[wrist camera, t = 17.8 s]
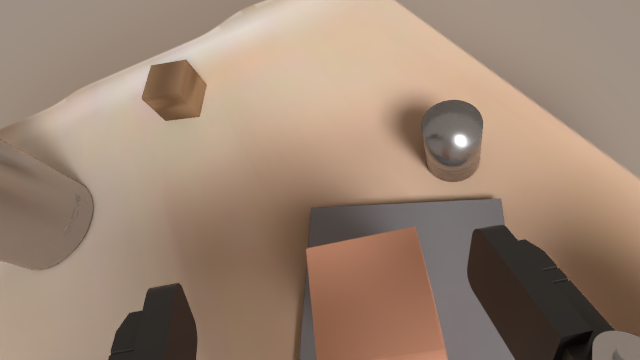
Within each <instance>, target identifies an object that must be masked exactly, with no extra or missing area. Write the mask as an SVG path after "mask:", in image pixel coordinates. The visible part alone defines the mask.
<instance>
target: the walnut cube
mask: <svg viewBox="0 0 640 360" xmlns="http://www.w3.org/2000/svg"><path fill="white" fill-rule="evenodd" d="M205 90H206V83H205V82H204V81H203V80H202V78H201V77H200V76H199V75H198V74H197V72H196V71H195V70H194V69H193V68H192V66H191V65H190V64H189V63H188V61H187V60H181V61H176V62H170V63H164V64H158V65H152V66H151V68H150V71H149V75H148V78H147V82H146V85H145V89H144V92H143V95H142V99H143V100H144V101H145V102H146V103H147V104H148V105H149V106H150V107H151V108H152V109H154V110H155V111H156V112H157V113H158V114H159V115H160V116H161V117H162V118H163V119H164V120H165V121H168V120H176V119H184V118H192V117H200V113H201V108H202V104H203V99H204V95H205Z"/></svg>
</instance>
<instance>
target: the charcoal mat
mask: <svg viewBox="0 0 640 360" xmlns="http://www.w3.org/2000/svg"><path fill="white" fill-rule="evenodd" d="M495 225H504V217H503V210H502V202H501V199H481V200H461V201H441V202H420V203H400V204H380V205H360V206H340V207H319V208H311V217H310V230H309V242H308V248H311V247H316V246H321V245H326V244H331V243H336V242H341V241H346V240H351V239H356V238H361V237H365V236H370V235H375V234H380V233H385V232H390V231H395V230H400V229H405V228H410V227H415V226H416V230H417V234H418V238H419V241H420V245H421V249H422V253H423V257H424V261H425V264H426V268H427V272H428V276H429V280H430V284H431V288H432V292H433V296H434V301H435V305H436V309H437V313H438V318H439V322H440V326H441V331H442V335H443V339H444V344H445V348H446V352H447V357H448V360H515V359H514V357H513V355H512V354H511V352H510V351H509V349H508V347H507V346H506V344H505V342H504V341H503V339H502V338H501V336H500V334H499V333H498V331H497V329H496V328H495V326H494V325H493V323H492V321H491V320H490V318H489V316H488V315H487V313H486V312H485V310H484V308H483V307H482V305H481V303H480V302H479V300H478V299H477V297H476V295H475V294H474V292H473V290H472V288H471V286H470V284H469V280H468V276H467V265H468V258H469V251H470V245H471V238H472V233H473V231H474V230H475V229H478V228H484V227H490V226H495ZM504 226H505V225H504ZM299 360H317V358H316V348H315V337H314V327H313V317H312V306H311V296H310V286H309V275H308V265H307V268H306V281H305V294H304V307H303V319H302V332H301V345H300V358H299Z"/></svg>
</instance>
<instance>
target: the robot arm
mask: <svg viewBox="0 0 640 360" xmlns="http://www.w3.org/2000/svg"><path fill="white" fill-rule="evenodd" d="M92 214H93V202H92V197H91V195H90V193H89V191H88V189H87V188H86V187H85V186H83V185H82V184H80V183H78V182H76V181H75V180H73V179H71V178H69V177H67V176H66V175H64V174H62V173H60V172H58V171H57V170H55V169H53V168H51V167H50V166H48V165H46V164H44V163H43V162H41V161H39V160H37V159H35V158H33V157H32V156H30V155H28V154H26V153H24V152H23V151H21V150H19V149H17V148H15V147H14V146H12V145H10V144H8V143H6V142H5V141H3V140H1V139H0V261H3V262H7V263H10V264H14V265H18V266H21V267H25V268H28V269H32V270H42V269H46V268H49V267H51V266H54V265H56V264H58V263H59V262H61V261H62V260H64V259H65V258H66V257H67V256H68V255H70V254H71V253H72V252H73V251H74V250H75V248H76V247H77V246H78V245H79V243H80V242H81V241H82V239H83V237H84V236H85V234H86V232H87V230H88V227H89V225H90V222H91V218H92ZM467 276H468V280H469V284H470V286H471V288H472V290H473V292H474V294H475V295H476V297H477V299H478V300H479V302H480V303H481V305H482V307H483V308H484V310H485V312H486V313H487V315H488V316H489V318H490V320H491V321H492V323H493V325H494V326H495V328H496V329H497V331H498V333H499V334H500V336H501V338H502V339H503V341H504V342H505V344H506V346H507V347H508V349H509V351H510V352H511V354H512V355H513V357H514V359H515V360H640V337H638V336H636V335H633V334H630V333H626V332H622V331H615V330H614V329H613V328H612V327H611V326H610V325H609V324H608V323H607V321H606V320H605V319H604V318H603V317H602V316H601V315H600V314H599V312H598V311H597V310H596V309H595V308H594V307H593V306H592V305H591V303H590V302H589V301H588V300H587V299H586V298H585V297H584V296H583V295H582V293H581V292H580V291H579V290H578V289H577V288H576V287H575V286H574V284H573V283H572V282H571V281H568V279H567V277H566V275H565V274H564V273H563V272H562V271H561V270H560V269H559V268H557V265H556V264H555V263H554V262H553V261H552V260H551V259H550V258H549V256H548V255H547V254H546V253H545V252H544V251H543V250H541V249H540V248H538V247H537V246H535V245H533V244H532V243H530V242H528V241H527V240H520V241H518V240H517V239H516V238H515V237H514V235H513V234H512V233H511V232H510V231H509V230H508V228H507V227H506V226H504V225H495V226H490V227H484V228H478V229H475V230H474V231H473V233H472V238H471V245H470V251H469V258H468V265H467ZM196 352H197V330H196V324H195V320H194V318H193V315H192V312H191V310H190V307H189V304H188V302H187V299H186V296H185V294H184V291H183V288H182V286H181V285H180V284H179V283H176V284H170V285H165V286H159V287H154V288H149V289H148V291H147V294H146V298H145V302H144V307H143V311H138V312H132V313H129V314H128V316H127V317H126V319H125V320H124V321H123V323H122V324H121V326H120V327H119V328H118V330H117V331H116V334H115V338H114V341H113V345H112V348H111V355H110V356H109V359H108V360H196Z"/></svg>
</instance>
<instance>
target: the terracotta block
mask: <svg viewBox="0 0 640 360" xmlns="http://www.w3.org/2000/svg"><path fill="white" fill-rule="evenodd" d="M306 255H307V265H308V275H309V286H310V296H311V306H312V317H313V327H314V337H315V348H316V358H317V360H448V357H447V352H446V348H445V344H444V339H443V335H442V331H441V326H440V322H439V318H438V313H437V309H436V305H435V301H434V296H433V292H432V288H431V284H430V280H429V276H428V272H427V268H426V264H425V261H424V257H423V253H422V249H421V245H420V241H419V238H418V234H417V230H416V226H415V227H410V228H405V229H400V230H395V231H390V232H385V233H380V234H375V235H370V236H365V237H361V238H356V239H351V240H346V241H341V242H336V243H331V244H326V245H321V246H316V247H311V248H306Z"/></svg>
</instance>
